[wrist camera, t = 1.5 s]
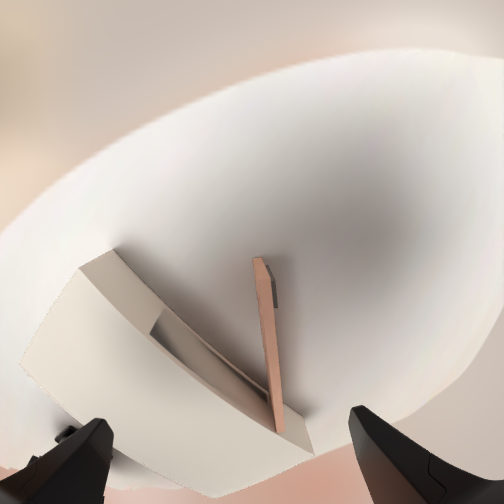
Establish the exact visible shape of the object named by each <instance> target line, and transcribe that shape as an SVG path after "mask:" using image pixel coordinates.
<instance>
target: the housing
mask: <svg viewBox="0 0 504 504" xmlns="http://www.w3.org/2000/svg"><path fill="white" fill-rule="evenodd" d="M19 365H20V367H21V368H22V369H23V370H24V371H25V372H26V373H27V374H28V375H29V376H30V377H31V378H32V380H33V381H34V382H35V383H36V384H37V385H38V386H39V387H40V388H41V389H42V390H43V391H44V392H45V393H46V394H48V395H49V396H50V397H51V398H52V399H53V400H54V401H55V402H56V403H57V404H58V405H59V406H61V407H62V408H63V409H64V410H65V411H66V412H68V413H69V414H70V415H71V416H72V417H73V418H75V419H76V420H77V421H78V422H80V423H81V424H82V425H83V426H84V425H86V424H87V423H88V422H90V421H91V420H92V419H94V418H103V419H105V420H106V421H107V423H108V424H109V426H110V427H111V429H112V430H113V433H114V441H113V447H114V448H115V449H117V450H118V451H120V452H122V453H123V454H125V455H126V456H128V457H129V458H131V459H133V460H134V461H136V462H138V463H140V464H141V465H143V466H145V467H147V468H148V469H150V470H152V471H154V472H156V473H158V474H159V475H161V476H163V477H165V478H167V479H169V480H171V481H173V482H176V483H178V484H180V485H182V486H184V487H186V488H189V489H191V490H193V491H196V492H198V493H200V494H203V495H205V496H208V497H210V498H213V499H216V498H219V497H222V496H225V495H227V494H230V493H234V492H236V491H239V490H242V489H244V488H247V487H249V486H252V485H254V484H257V483H259V482H262V481H264V480H266V479H269V478H271V477H273V476H275V475H278V474H280V473H282V472H284V471H286V470H288V469H290V468H292V467H294V466H296V465H298V464H300V463H302V462H304V461H306V460H308V459H309V458H311V457H313V456H315V454H314V451H313V448H312V445H311V441H310V438H309V435H308V432H307V428H306V425H305V422H304V419H303V417H302V416H301V415H299V414H298V413H296V412H295V411H294V410H292V409H291V408H289V407H288V406H286V405H285V404H284V403H283V412H284V424H285V432H280V433H277V431H276V426H275V420H274V415H273V410H272V405H271V399H270V394H269V392H267V391H266V390H265V389H263V388H262V387H261V386H259V385H258V384H257V383H256V382H254V381H253V380H252V379H250V378H249V377H248V376H247V375H245V374H244V373H243V372H242V371H240V370H239V369H238V368H237V367H235V366H234V365H233V364H232V363H231V362H229V361H228V360H227V359H226V358H225V357H223V356H222V355H221V354H220V353H219V352H217V351H216V350H215V349H214V348H213V347H212V346H210V345H209V344H208V343H207V342H206V341H205V340H204V339H202V338H201V337H200V336H199V335H198V334H197V333H196V332H195V331H194V330H192V329H191V328H190V327H189V326H188V325H187V324H186V323H185V322H184V321H183V320H182V319H180V318H179V317H178V316H177V315H176V314H175V313H174V312H173V311H172V310H171V309H170V308H169V307H168V306H167V305H166V304H165V303H164V302H163V301H162V300H161V299H160V298H159V297H158V296H157V295H156V294H155V293H154V292H153V291H152V290H151V289H150V288H149V287H148V286H147V285H146V284H145V283H144V282H143V281H142V280H141V279H140V278H139V277H138V276H137V275H136V274H135V273H134V272H133V271H132V270H131V269H130V268H129V267H128V266H127V264H126V263H125V262H124V261H123V260H122V259H121V258H120V257H119V256H118V255H117V253H116V252H115V251H114V250H113V249H112V250H110V251H108V252H106V253H105V254H103V255H101V256H99V257H97V258H95V259H94V260H92V261H90V262H88V263H86V264H85V265H83V266H81V267H79V268H78V269H77V271H76V272H75V274H74V275H73V276H72V278H71V279H70V280H69V282H68V283H67V285H66V286H65V288H64V289H63V290H62V292H61V293H60V295H59V296H58V298H57V299H56V301H55V302H54V304H53V305H52V307H51V308H50V310H49V312H48V313H47V315H46V316H45V318H44V320H43V321H42V323H41V324H40V326H39V328H38V329H37V331H36V333H35V335H34V336H33V338H32V340H31V342H30V343H29V345H28V347H27V349H26V350H25V352H24V354H23V356H22V358H21V360H20V362H19Z"/></svg>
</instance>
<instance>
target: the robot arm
mask: <svg viewBox="0 0 504 504" xmlns="http://www.w3.org/2000/svg"><path fill="white" fill-rule="evenodd" d="M348 424H349V429H350V433H351V437H352V441H353V445H354V449H355V454H356V458H357V461H358V463H359V466H360V469H361V472H362V474H363V477H364V479H365V482H366V484H367V487H368V489H369V492H370V495H371V497H372V500H373V502H374V504H504V480H487V479H483V478H481V477H478V476H476V475H473V474H471V473H468V472H466V471H464V470H461V469H459V468H457V467H455V466H453V465H451V464H449V463H447V462H445V461H443V460H442V459H440V458H439V457H437V456H435V455H434V454H432V453H430V452H429V451H428V450H426V449H425V448H423V447H422V446H420V445H419V444H417V443H416V442H414V441H413V440H411V439H410V438H408V437H407V436H405V435H404V434H403V433H401V432H399V431H398V430H397V429H395V428H394V427H392V426H391V425H390V424H388V423H387V422H386V421H384V420H383V419H381V418H380V417H379V416H377V415H376V414H374V413H373V412H372V411H370V410H369V409H368V408H366V407H365V406H363V405H359V406H355V407H352V408H351V411H350V416H349V421H348ZM55 441H56V442H57V443H58V445H57V446H56V447H54V448H53V449H51V450H50V451H49V452H47V453H46V454H44V455H43V456H42V457H41V456H40V457H39V458H38V457H36V456H34V455H33V456H32V458H31V459H30V461H29V463H28V465H27V466H26V467H25V468H24V469H22V470H20V471H18V472H17V473H15V474H13V475H11V476H9V477H7V478H5V479H3V480H1V481H0V504H104V496H103V494H104V490H105V485H106V481H107V477H108V473H109V468H110V462H111V460H112V458H113V456H112V447H113V441H114V433H113V430H112V429H111V427H110V426H109V424H108V423H107V421H106V420H105V419H103V418H94V419H92V420H91V421H90V422H88V423H87V424H86V425H84V426H83V427H82V428H80V429H79V430H78V431H77V430H76V429H74V428H73V427H71V426H69V427H67V428H66V429H65V430H64V431H62V432H61V433H60V434H59V435H57V436H56V437H55Z"/></svg>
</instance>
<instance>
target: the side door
mask: <svg viewBox="0 0 504 504" xmlns="http://www.w3.org/2000/svg"><path fill="white" fill-rule="evenodd" d="M253 266H254V274H255V282H256V290H257V298H258V306H259V314H260V322H261V330H262V338H263V346H264V354H265V362H266V370H267V378H268V386H269V394H270V399H271V405H272V410H273V415H274V420H275V426H276V431H277V433H280V432H285V424H284V412H283V401H282V390H281V379H280V368H279V357H278V347H277V337H276V327H275V317H274V308H278V304H277V294H276V284H275V279H274V277H273V275H272V273H271V271H270V269H269V266H268V265H265V264H264V262H263V260H262V257H260V258H253Z"/></svg>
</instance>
